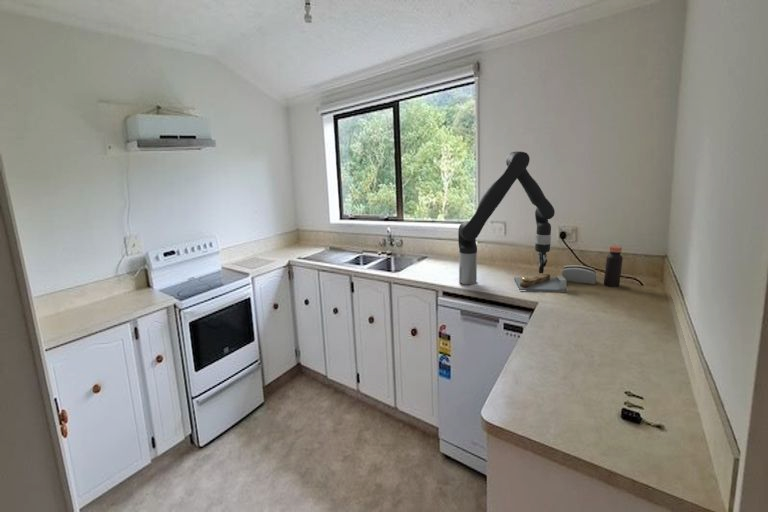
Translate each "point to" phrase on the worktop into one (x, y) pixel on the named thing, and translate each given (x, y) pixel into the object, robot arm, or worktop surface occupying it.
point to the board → (541, 286)
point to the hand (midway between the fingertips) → (541, 273)
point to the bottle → (613, 267)
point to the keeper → (561, 282)
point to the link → (535, 280)
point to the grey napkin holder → (579, 274)
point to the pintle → (525, 279)
